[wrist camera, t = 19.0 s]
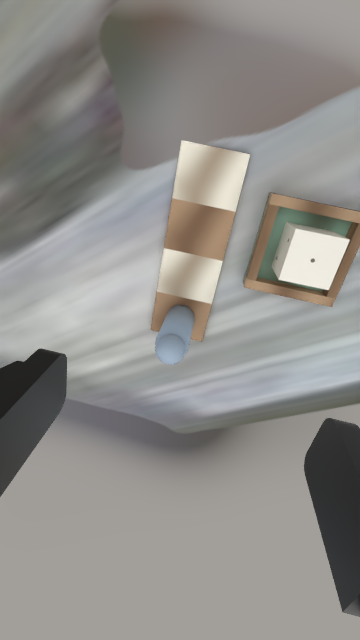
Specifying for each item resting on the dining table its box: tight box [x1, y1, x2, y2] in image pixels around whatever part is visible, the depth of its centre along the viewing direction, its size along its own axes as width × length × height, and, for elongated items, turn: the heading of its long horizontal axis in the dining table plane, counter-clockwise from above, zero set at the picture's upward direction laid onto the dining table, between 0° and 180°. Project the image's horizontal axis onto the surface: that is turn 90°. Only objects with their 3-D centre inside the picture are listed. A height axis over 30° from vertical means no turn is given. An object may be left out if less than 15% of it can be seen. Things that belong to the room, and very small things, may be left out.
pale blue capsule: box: [155, 305, 195, 364], centre depth 34 cm, size 4×4×9 cm
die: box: [271, 222, 350, 290], centre depth 31 cm, size 5×5×5 cm
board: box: [151, 140, 250, 342], centre depth 35 cm, size 7×22×1 cm, turn 169°
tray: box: [243, 193, 360, 307], centre depth 33 cm, size 10×10×2 cm
